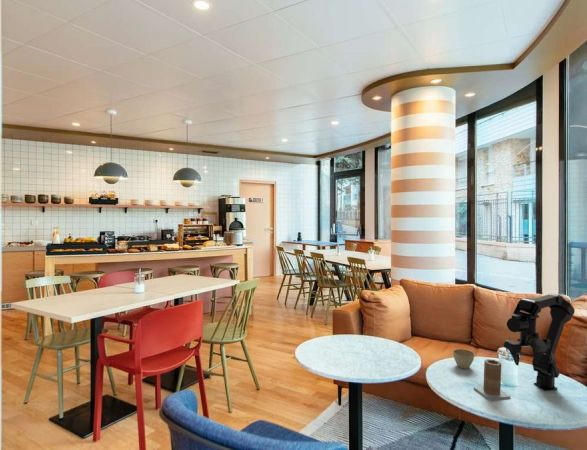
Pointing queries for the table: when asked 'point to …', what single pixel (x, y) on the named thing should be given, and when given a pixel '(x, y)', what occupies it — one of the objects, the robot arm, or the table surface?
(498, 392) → the brown faceted vase
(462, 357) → the flower pot
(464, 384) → the table surface
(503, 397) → the post stand
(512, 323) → the robot arm
